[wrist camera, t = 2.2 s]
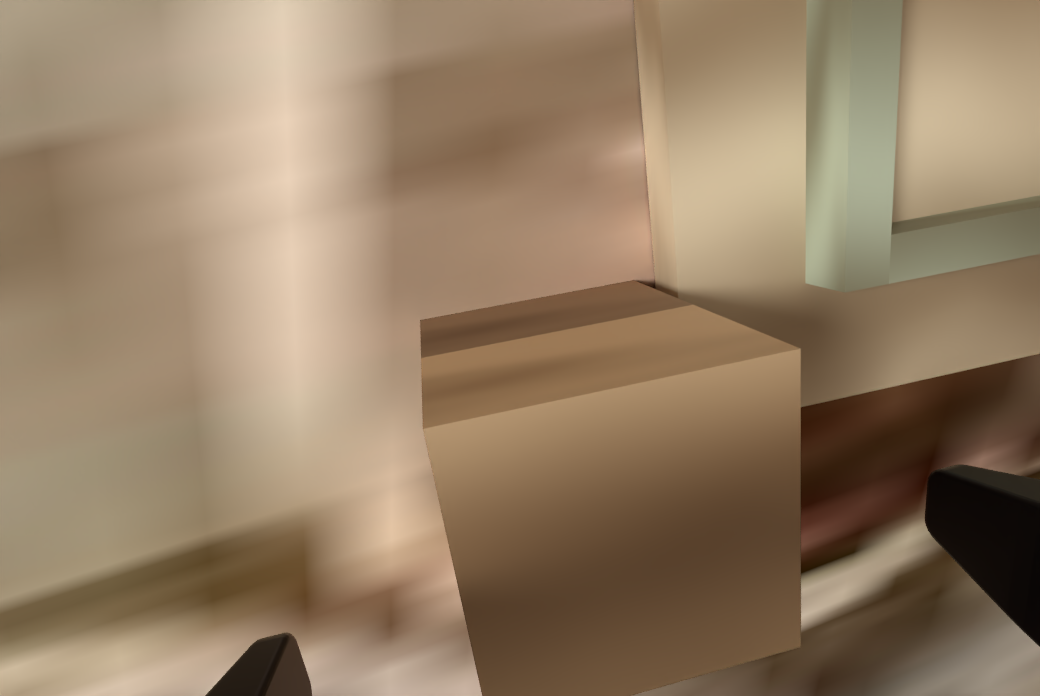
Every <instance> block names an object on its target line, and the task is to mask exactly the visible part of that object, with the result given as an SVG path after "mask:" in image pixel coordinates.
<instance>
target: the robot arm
mask: <svg viewBox="0 0 1040 696" xmlns="http://www.w3.org/2000/svg"><path fill="white" fill-rule="evenodd" d="M925 523H926V526H927V529H928V531H929V532H930V534H931V536H932V537H933V538H934V539H935V540H936V541H937V542H938V543H939V544H940V545H941V546H942V548H943V549H944V550H945V551H946V552H947V553H948V554H949V555H950V556H951V557H952V558H953V559H954V560H955V561H956V562H957V563H958V564H959V565H960V566H961V567H962V568H963V569H964V571H965V572H966V573H967V574H968V575H969V576H970V577H971V578H972V579H973V580H974V581H975V582H976V583H977V584H978V585H979V586H980V587H981V588H982V589H983V590H984V591H985V592H986V594H987V595H988V596H989V597H990V598H991V599H992V600H993V601H994V602H995V603H996V604H997V605H998V606H999V607H1000V608H1001V609H1002V610H1003V611H1004V612H1005V613H1006V614H1007V615H1008V616H1009V617H1010V618H1011V619H1012V620H1013V621H1014V622H1015V623H1016V624H1017V625H1018V626H1019V627H1020V628H1021V630H1022V631H1024V632H1025V633H1026V634H1027V635H1028V636H1029V637H1030V638H1031V639H1032V640H1033V641H1034V642H1035V643H1036V644H1037V645H1039V646H1040V480H1039V479H1034V478H1029V477H1024V476H1019V475H1014V474H1008V473H1003V472H998V471H993V470H988V469H983V468H978V467H973V466H968V465H954V466H950V467H946V468H942V469H938V470H935V471H933V472H932V473H931V474H930V476H929V478H928V483H927V496H926V509H925ZM206 696H312V690H311V684H310V680H309V677H308V674H307V671H306V668H305V665H304V662H303V659H302V656H301V653H300V650H299V647H298V644H297V641H296V639H295V638H294V636H293V635H292V634H290V633H282V634H278V635H274V636H270V637H266V638H262V639H259V640H257V641H256V642H254V643H253V644H252V645H251V646H250V647H249V648H248V650H247V651H246V652H245V653H244V654H243V655H242V656H241V657H240V658H239V659H238V661H237V662H236V663H235V664H234V665H233V666H232V667H231V668H230V669H229V670H228V671H227V673H226V674H225V675H224V676H223V677H222V678H221V679H220V680H219V681H218V682H217V684H216V685H215V686H214V687H213V688H212V689H211V690H210V691H209V692H208V693H207V694H206Z"/></svg>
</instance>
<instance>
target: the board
mask: <svg viewBox="0 0 1040 696" xmlns="http://www.w3.org/2000/svg"><path fill="white" fill-rule="evenodd" d="M633 2H634V15H635V28H636V41H637V53H638V66H639V79H640V92H641V105H642V118H643V131H644V144H645V157H646V170H647V182H648V195H649V208H650V221H651V234H652V247H653V260H654V273H655V286H656V290H659V291H661V292H664V293H666V294H668V295H671V296H673V297H676V298H678V299H681V300H683V301H685V302H688V303H690V304H693V305H695V306H698V307H700V308H703V309H705V310H707V311H710V312H712V313H715V314H717V315H720V316H722V317H725V318H727V319H729V320H732V321H734V322H737V323H739V324H742V325H744V326H747V327H749V328H751V329H754V330H756V331H759V332H761V333H764V334H766V335H769V336H771V337H773V338H776V339H778V340H781V341H783V342H786V343H788V344H790V345H793V346H795V347H798V348H800V349H801V407H804V406H809V405H813V404H818V403H822V402H827V401H831V400H836V399H840V398H844V397H849V396H853V395H858V394H862V393H867V392H871V391H876V390H880V389H885V388H889V387H893V386H898V385H902V384H907V383H911V382H916V381H920V380H925V379H929V378H934V377H938V376H942V375H947V374H951V373H956V372H960V371H965V370H969V369H974V368H978V367H983V366H987V365H991V364H996V363H1000V362H1005V361H1009V360H1014V359H1018V358H1023V357H1027V356H1032V355H1036V354H1040V0H633Z"/></svg>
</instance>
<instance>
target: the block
mask: <svg viewBox="0 0 1040 696" xmlns="http://www.w3.org/2000/svg"><path fill="white" fill-rule="evenodd" d="M420 328H421V369H422V410H423V431H424V436H425V440H426V445H427V449H428V454H429V458H430V463H431V467H432V472H433V476H434V481H435V485H436V490H437V494H438V499H439V503H440V508H441V512H442V517H443V521H444V526H445V530H446V535H447V539H448V543H449V548H450V552H451V557H452V561H453V566H454V570H455V575H456V579H457V584H458V588H459V593H460V597H461V602H462V606H463V611H464V615H465V620H466V624H467V629H468V633H469V638H470V642H471V647H472V651H473V656H474V660H475V665H476V669H477V674H478V678H479V683H480V687H481V692H482V696H631V695H635V694H638V693H642V692H645V691H649V690H652V689H655V688H659V687H662V686H666V685H669V684H673V683H676V682H680V681H683V680H687V679H690V678H694V677H697V676H701V675H704V674H708V673H711V672H715V671H718V670H722V669H725V668H729V667H732V666H736V665H739V664H743V663H746V662H749V661H753V660H756V659H760V658H763V657H767V656H770V655H774V654H777V653H781V652H784V651H788V650H791V649H795V648H798V647H801V349H800V348H798V347H795V346H793V345H790V344H788V343H786V342H783V341H781V340H778V339H776V338H773V337H771V336H769V335H766V334H764V333H761V332H759V331H756V330H754V329H751V328H749V327H747V326H744V325H742V324H739V323H737V322H734V321H732V320H729V319H727V318H725V317H722V316H720V315H717V314H715V313H712V312H710V311H707V310H705V309H703V308H700V307H698V306H695V305H693V304H690V303H688V302H685V301H683V300H681V299H678V298H676V297H673V296H671V295H668V294H666V293H664V292H661V291H659V290H656V289H654V288H651V287H649V286H646V285H644V284H642V283H639V282H637V281H634V280H632V281H627V282H621V283H616V284H611V285H605V286H600V287H595V288H589V289H584V290H579V291H573V292H568V293H563V294H557V295H552V296H547V297H541V298H536V299H531V300H525V301H520V302H515V303H509V304H504V305H499V306H493V307H488V308H483V309H477V310H472V311H467V312H461V313H456V314H451V315H445V316H440V317H435V318H429V319H424V320H420Z"/></svg>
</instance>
